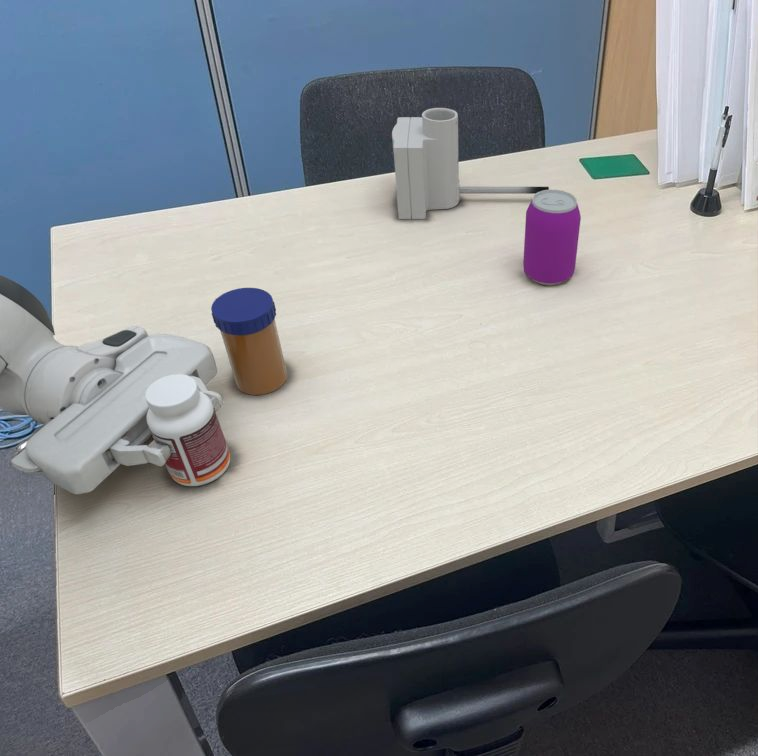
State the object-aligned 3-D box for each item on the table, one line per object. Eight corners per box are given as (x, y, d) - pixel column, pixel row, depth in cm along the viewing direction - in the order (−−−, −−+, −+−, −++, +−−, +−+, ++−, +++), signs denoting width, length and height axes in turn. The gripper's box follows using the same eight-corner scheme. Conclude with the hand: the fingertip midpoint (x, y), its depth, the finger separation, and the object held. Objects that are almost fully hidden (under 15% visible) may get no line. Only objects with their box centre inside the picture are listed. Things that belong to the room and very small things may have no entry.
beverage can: (575, 262, 107) (584, 189, 99) (572, 290, 101) (580, 215, 93) (526, 257, 108) (530, 184, 100) (519, 285, 102) (523, 210, 94)
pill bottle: (233, 441, 77) (208, 365, 70) (229, 483, 73) (202, 407, 66) (173, 449, 76) (142, 372, 69) (166, 492, 72) (131, 415, 64)
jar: (252, 402, 82) (232, 330, 75) (226, 377, 85) (204, 306, 78) (297, 379, 85) (281, 308, 78) (270, 356, 88) (253, 285, 81)
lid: (233, 343, 76) (229, 330, 74) (203, 316, 79) (199, 303, 78) (287, 318, 79) (284, 305, 78) (256, 293, 83) (253, 280, 81)
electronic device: (398, 185, 124) (392, 99, 114) (543, 185, 126) (550, 101, 116) (394, 219, 115) (387, 129, 105) (551, 219, 117) (558, 130, 107)
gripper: (-16, 438, 64) (103, 483, 61) (144, 316, 79) (248, 346, 75) (14, 483, 69) (127, 527, 65) (161, 359, 83) (260, 390, 80)
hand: (193, 429), depth 70 cm, fingers open, 6 cm apart
